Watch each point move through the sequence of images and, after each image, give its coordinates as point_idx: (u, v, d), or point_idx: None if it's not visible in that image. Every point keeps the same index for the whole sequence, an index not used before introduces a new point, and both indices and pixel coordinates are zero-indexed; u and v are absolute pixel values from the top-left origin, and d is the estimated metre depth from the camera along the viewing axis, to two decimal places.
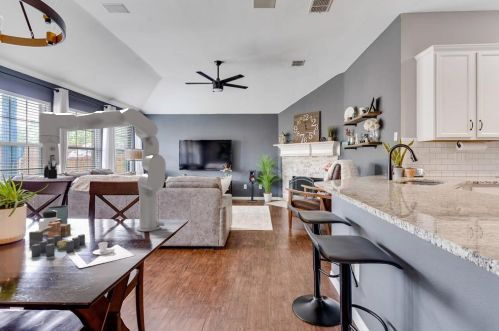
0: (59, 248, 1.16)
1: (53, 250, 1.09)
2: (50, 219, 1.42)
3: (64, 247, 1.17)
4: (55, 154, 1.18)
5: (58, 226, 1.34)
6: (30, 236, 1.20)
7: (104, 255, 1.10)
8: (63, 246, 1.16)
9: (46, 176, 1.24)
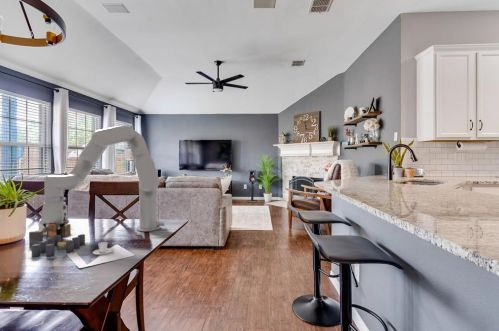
0: (60, 248, 1.16)
1: (53, 250, 1.09)
2: None
3: (65, 247, 1.17)
4: (66, 212, 1.35)
5: None
6: (30, 236, 1.20)
7: (104, 255, 1.10)
8: (64, 246, 1.17)
9: None
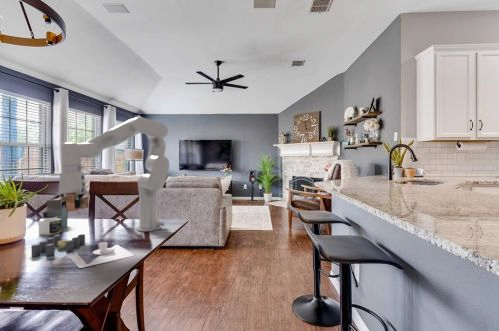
0: (61, 248, 1.16)
1: (53, 250, 1.09)
2: (50, 219, 1.42)
3: None
4: (84, 182, 1.27)
5: None
6: (48, 205, 1.13)
7: (104, 255, 1.10)
8: (65, 245, 1.17)
9: None
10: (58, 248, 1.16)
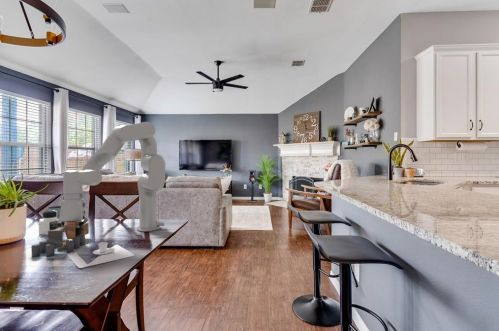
0: (62, 248, 1.16)
1: (53, 250, 1.09)
2: (50, 219, 1.42)
3: None
4: (85, 209, 1.27)
5: None
6: (49, 235, 1.12)
7: (104, 255, 1.10)
8: None
9: None
10: (59, 248, 1.16)
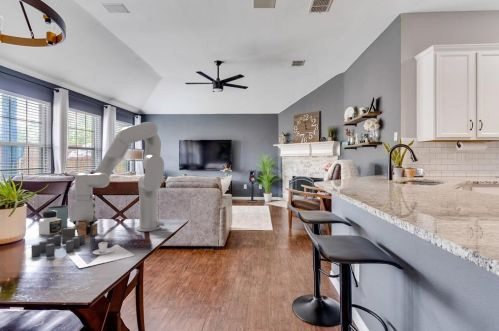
0: None
1: (53, 250, 1.09)
2: (50, 219, 1.42)
3: None
4: (95, 210, 1.37)
5: None
6: (63, 233, 1.22)
7: (104, 255, 1.10)
8: None
9: None
10: None
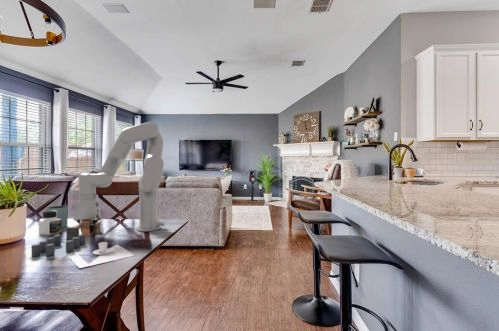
0: None
1: (53, 250, 1.09)
2: (50, 219, 1.42)
3: None
4: (98, 209, 1.40)
5: None
6: (67, 232, 1.25)
7: (104, 255, 1.10)
8: None
9: None
10: None
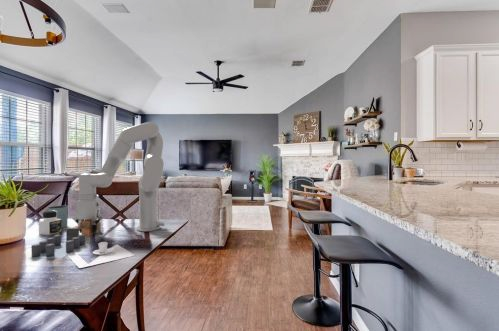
0: None
1: (53, 250, 1.09)
2: (50, 219, 1.42)
3: None
4: (99, 209, 1.40)
5: (91, 223, 1.39)
6: (67, 233, 1.25)
7: (104, 255, 1.10)
8: None
9: (81, 231, 1.38)
10: None
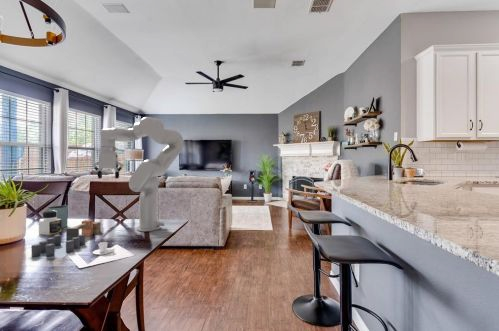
0: None
1: (53, 250, 1.09)
2: (50, 219, 1.42)
3: None
4: (117, 160, 1.62)
5: (91, 223, 1.39)
6: (67, 233, 1.25)
7: (104, 255, 1.10)
8: None
9: (100, 177, 1.59)
10: None
